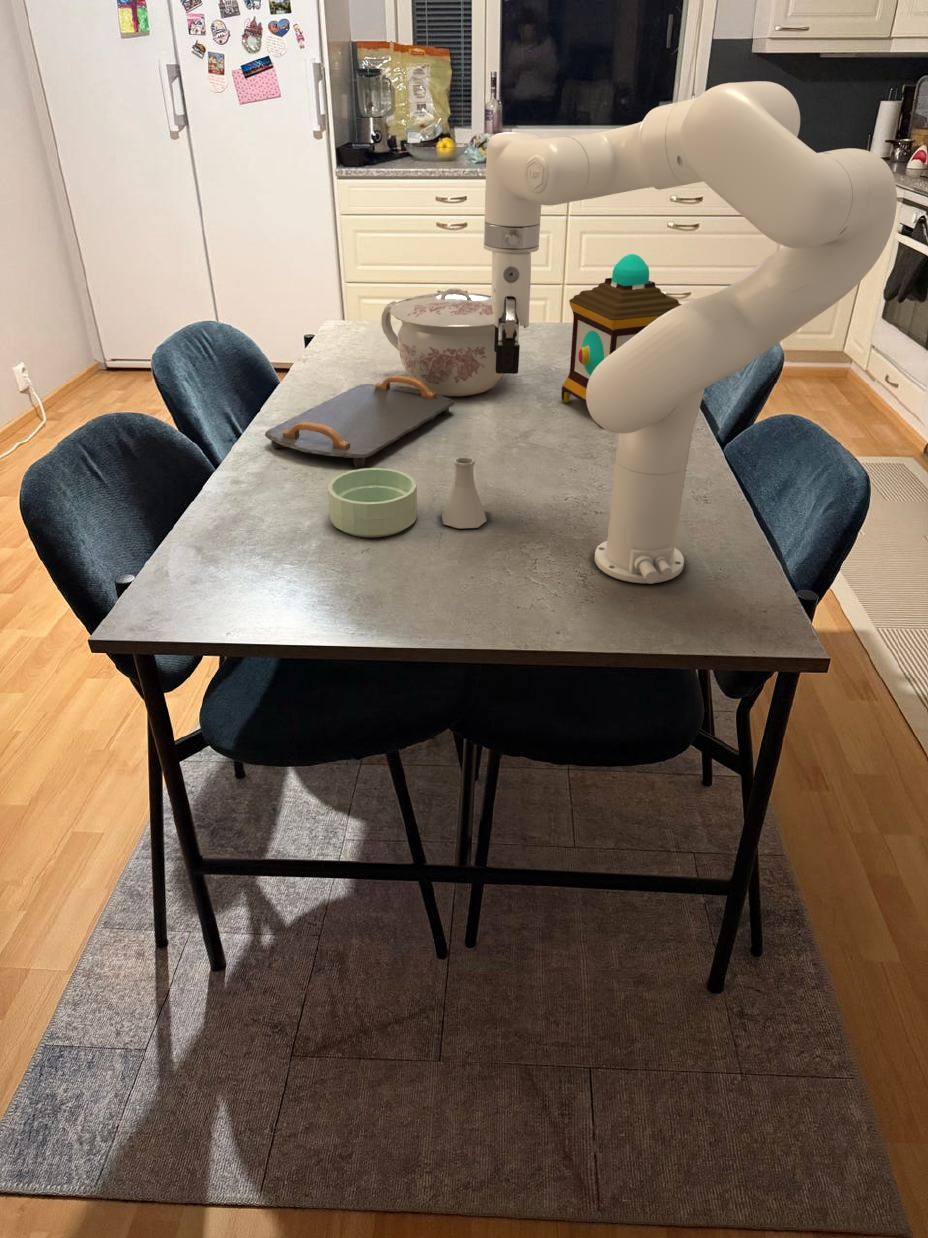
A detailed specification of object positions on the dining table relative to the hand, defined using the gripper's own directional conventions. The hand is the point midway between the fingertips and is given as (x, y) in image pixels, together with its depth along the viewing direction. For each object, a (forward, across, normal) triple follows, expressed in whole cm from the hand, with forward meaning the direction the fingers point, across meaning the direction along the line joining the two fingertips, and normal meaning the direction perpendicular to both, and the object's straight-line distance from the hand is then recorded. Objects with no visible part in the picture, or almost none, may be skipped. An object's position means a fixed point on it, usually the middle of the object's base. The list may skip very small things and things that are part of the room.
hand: (505, 362), depth 131 cm
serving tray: (+25, +35, +25) cm, 50 cm away
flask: (+24, -4, +6) cm, 25 cm away
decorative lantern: (+24, +48, -25) cm, 60 cm away
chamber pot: (+25, +62, +8) cm, 67 cm away
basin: (+24, -4, +20) cm, 31 cm away
